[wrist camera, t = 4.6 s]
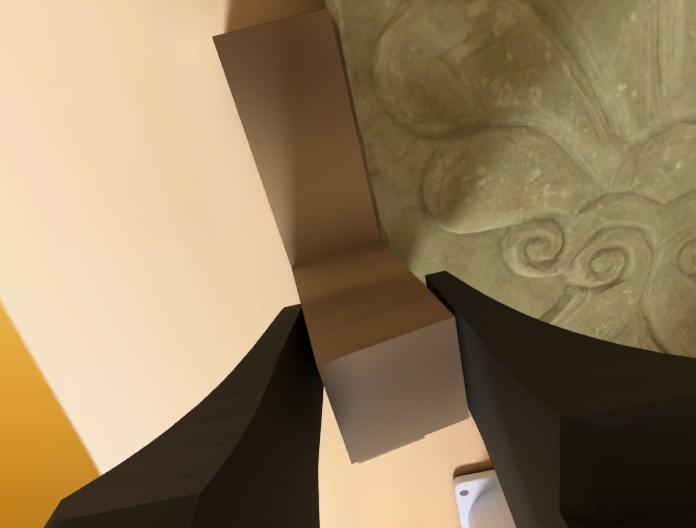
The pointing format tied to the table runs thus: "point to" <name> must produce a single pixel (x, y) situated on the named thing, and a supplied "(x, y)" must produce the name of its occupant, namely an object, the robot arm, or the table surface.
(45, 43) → the table surface
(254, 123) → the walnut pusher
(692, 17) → the decorative tile
